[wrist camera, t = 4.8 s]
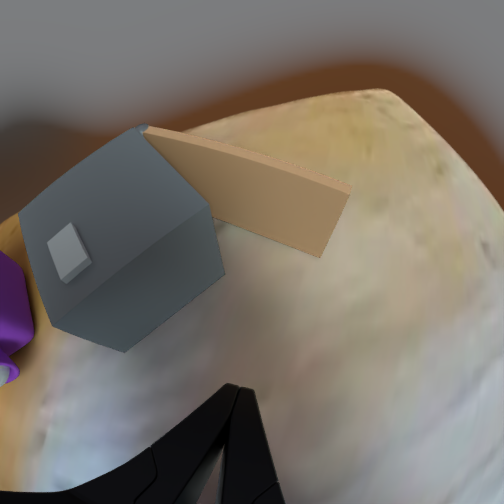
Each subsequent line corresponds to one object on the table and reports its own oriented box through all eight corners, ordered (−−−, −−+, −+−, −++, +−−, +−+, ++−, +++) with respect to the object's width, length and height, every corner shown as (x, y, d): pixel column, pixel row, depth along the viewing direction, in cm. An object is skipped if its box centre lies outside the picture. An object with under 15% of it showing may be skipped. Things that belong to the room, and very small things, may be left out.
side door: (324, 245, 25) (354, 179, 17) (319, 260, 24) (349, 197, 16) (167, 187, 28) (143, 119, 20) (158, 198, 27) (131, 132, 19)
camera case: (224, 274, 24) (207, 197, 14) (124, 352, 21) (45, 323, 11) (157, 196, 28) (125, 115, 18) (74, 259, 25) (12, 199, 15)
